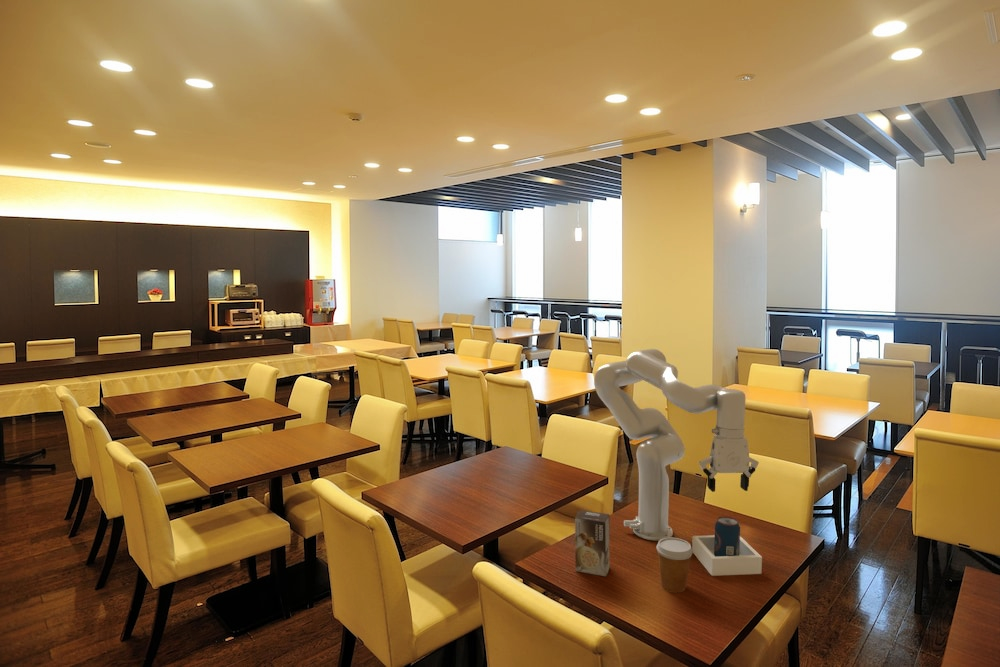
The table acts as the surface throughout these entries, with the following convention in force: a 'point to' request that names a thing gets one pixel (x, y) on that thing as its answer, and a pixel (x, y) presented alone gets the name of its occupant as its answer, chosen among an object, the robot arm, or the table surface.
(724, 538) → the soda can
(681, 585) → the disposable coffee cup
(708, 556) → the walled box
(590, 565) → the coffee box
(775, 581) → the table surface
